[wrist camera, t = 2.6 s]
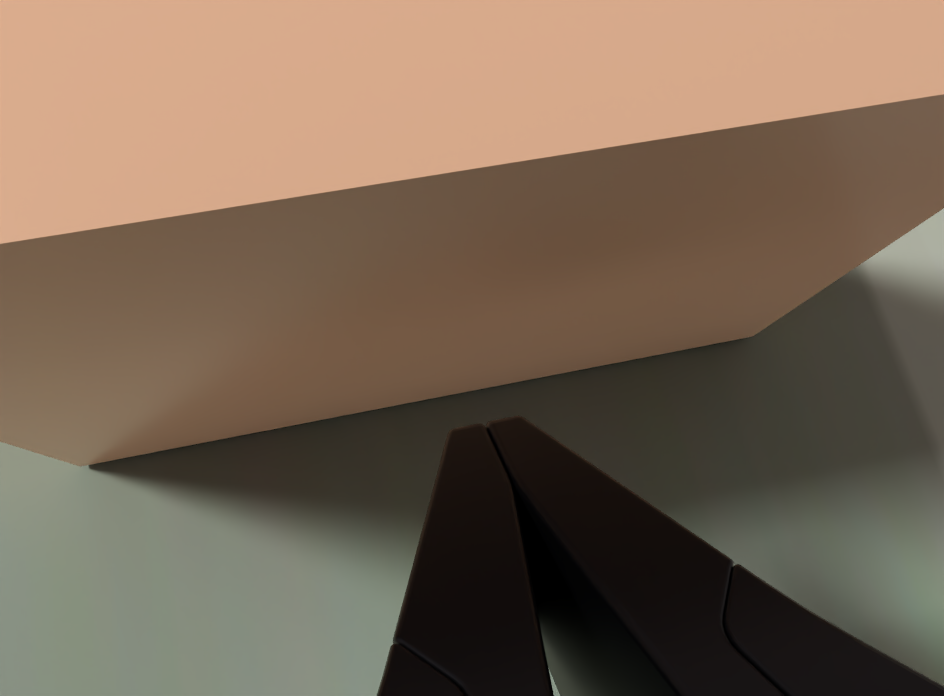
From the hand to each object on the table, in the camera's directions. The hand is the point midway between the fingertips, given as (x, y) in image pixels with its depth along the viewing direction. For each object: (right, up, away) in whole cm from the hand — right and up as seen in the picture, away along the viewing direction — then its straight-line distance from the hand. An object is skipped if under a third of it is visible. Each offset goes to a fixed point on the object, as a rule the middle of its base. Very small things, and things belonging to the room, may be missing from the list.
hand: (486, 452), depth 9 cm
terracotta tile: (-1, +1, +8) cm, 8 cm away
